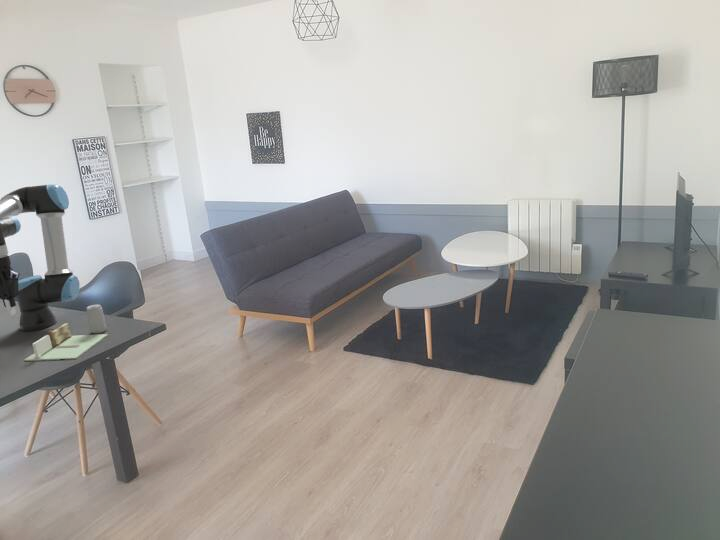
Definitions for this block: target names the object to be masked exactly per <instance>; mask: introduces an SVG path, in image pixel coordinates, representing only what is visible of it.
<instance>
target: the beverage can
mask: <svg viewBox="0 0 720 540" xmlns="http://www.w3.org/2000/svg"><path fill="white" fill-rule="evenodd" d="M85 312H86V316H87V320H88V325H89V329H90V332H91V334H93V335H99V334H103V333H104V332H105V331H107V324H106V320H105V315H104V310H103V307H102V306H101V304H100V303H99V304H91V305H89V306H86V311H85Z"/></svg>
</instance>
